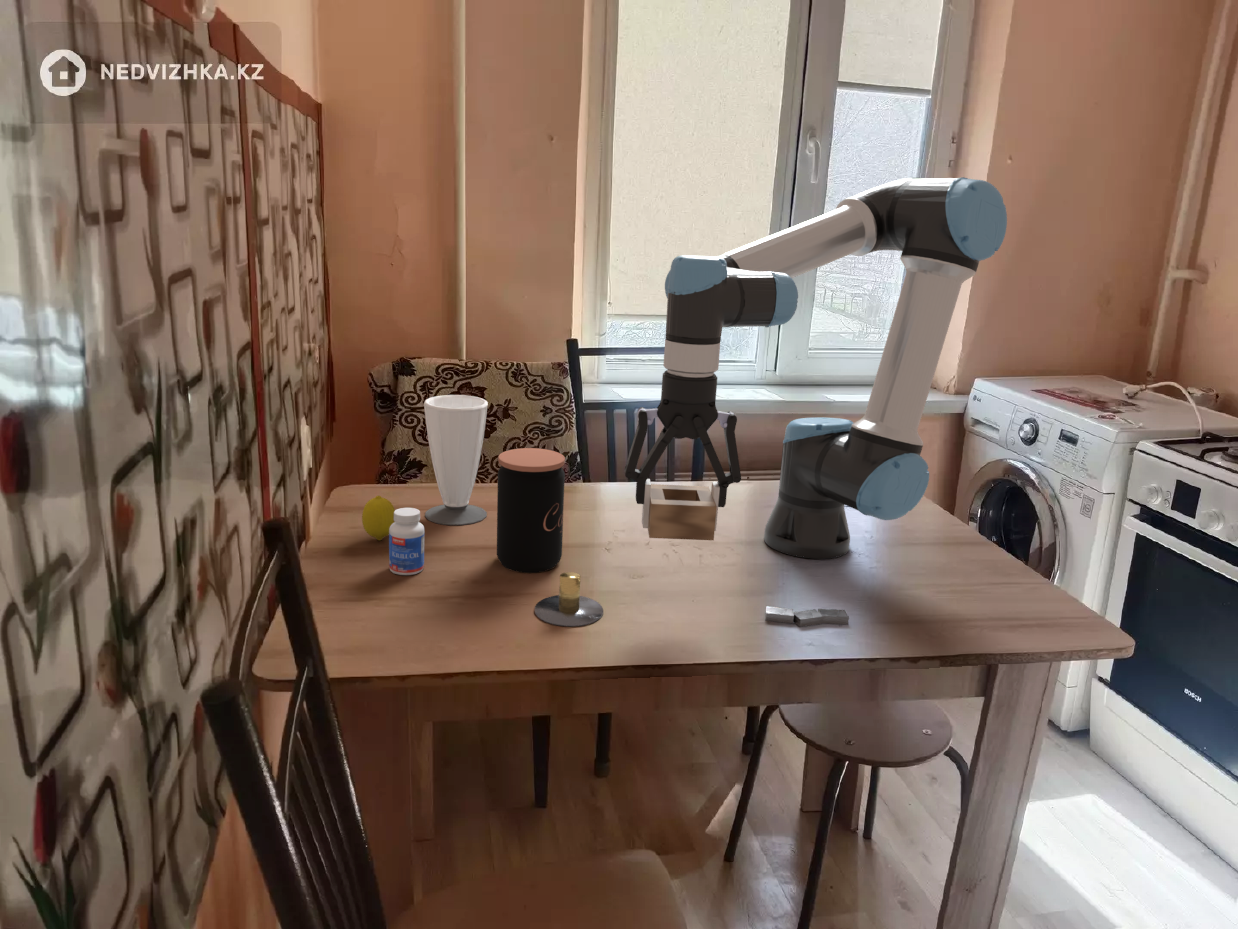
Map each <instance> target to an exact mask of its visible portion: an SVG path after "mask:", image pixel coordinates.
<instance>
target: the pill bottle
mask: <svg viewBox="0 0 1238 929" xmlns="http://www.w3.org/2000/svg"><path fill="white" fill-rule="evenodd" d="M394 510H395V511H394V521H395V523H393V524H392V525H391V526H390V528H389V535H388V549H389V550H388V554H389V555H388V556H389V559H388V561H389V562H388V566H389V567H388V568H389V571H390V572H392V573H393V574H396V575H399V576H412V575H413V576H414V575H416V574H419V573H421V572H422V571H423V570H424V568H425V526H424V525H423V524H422V523H421V522H420V520H421V511H420V510H419V509H417V508H414V507H400V508H396V509H394Z"/></svg>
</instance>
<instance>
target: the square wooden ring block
mask: <svg viewBox="0 0 1238 929" xmlns="http://www.w3.org/2000/svg"><path fill="white" fill-rule="evenodd" d="M716 509H717V506H716V504H715V501H714V499H713V497H712V494H711V488H710V487H709V486H707V485H706V486H702V485H683V484H681V485H679V484H678V485H677V484H662V483H661V484H657V483H656V484H655V483H651V492H650V507H649V522H648V528H647V532H648V533H647V534H648V538H649V539H663V540H665V539H668V540H670V539H672V540H690V541H692V540H693V541H694V540H696V541H715V540H714V539H715V532H716V531H715V520H716Z"/></svg>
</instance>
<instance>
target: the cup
mask: <svg viewBox="0 0 1238 929" xmlns="http://www.w3.org/2000/svg"><path fill="white" fill-rule="evenodd" d="M488 403H489V402H488V401H487V400H486V399H484V398H481V397H478V396H474V395H472V396H471V395H465V394H447V395H438V396H437V395H436V396H431V397H428V398H427V399H425V400H424V402H423V407H424V417H425V418H424V419H425V424H426V431H427V432H426V434H427V439H428V445H429V446H428V447H429V450H430V456H431V462H432V468H433V471H434V475H435V479H436V483H437V484H436V485H437V487H438V491H439V494H440V497H441V500H442V504H440V505H436V506H433V507H431V508H429V509H427V510H426V511H425V512H424V517H425V518H426V519H427V520H428V521H429V522H431V523H434V524H437V525H443V526H467V525H468V526H469V525H473V524H477V523H479V522H481V521H483V520H484V519H486V518H487V515H488V511H486V510H485V509H484V508H482V507H481V506H478V505H473V504H469V502H470V499H471V496H472V493H473V489H474V487H475V483H476V478H477V474H478V469H479V465H480V459H481V454H482V449H483V444H484V437H485V429H486V421H487V414H488V412H487V411H488V405H489V404H488Z"/></svg>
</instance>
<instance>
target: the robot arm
mask: <svg viewBox="0 0 1238 929" xmlns="http://www.w3.org/2000/svg"><path fill="white" fill-rule="evenodd" d="M1007 212H1008V211H1007V207H1006V205H1005V203H1004V199H1003V196H1002V194H1001V193H1000V191H999V189H997V188H996V187H995V186H994V184H992V183H991V182H989V181H986V180H982V179H973V178H968V177H965V176H964V177H955V178H953V177H947V178H941V177H940V178H937V177H936V178H935V177H934V178H933V177H931V178H927V177H905V178H901V179H897V180H892V181H890V182H887V183H883V184H881V185H879V186H876V187H872V188H870V189H867V190H864V191H863V192H862V191H861V192H859V193H858V194H855V195H852V196H849V197H847V198H845V199H843V200H841V201H839V203H838V204H837V205H836V207H835V209H834V210H832V211H829V212H827V213H824V214H822V215H819V216H817V217H814V218H811V219H809V220H806V221H803V222H800V223H799V224H796V225H793V226H790V227H788V228H785V229H782V230H781V231H778V232H775V233H773V234H770V235H768V236H765V237H763V238H760V239H758V240H756V241H753V242H750V243H747V244H744V245H742V246H740V247H738V248H735V249H732V250H730V251H727V252H725V253H722V254H719V255H716V256H709V255H697V254H696V255H693V254H691V255H690V254H683V255H677V256H676V257H674V258H673V259H672V261H671V264H670V270H669V271H668V273H667V275H666V277H665V279H664V280H665V282H664V293H665V296H666V299H667V303H666V304H667V306H666V324H665V338H664V339H665V340H664V352H663V353H664V354H663V363H662V364H663V367H664V368H665V369H666V370H664V372H663V373H662V376H661V377H662V380H661V395H660V403H659V404H658V405H657V407H656V408H645V407H642V406H641V407H639V408H638V409H637V422H638V423H637V426H636V430H635V433H634V436H633V440H632V443H631V446H630V450H629V453H628V456H627V460H626V464H625V466H624V475H625V478H626V479H628V480H629V479H632V480H633V481H635V482H636V486H635V501H636V504H637V505H642V513H641V515H642V516H641V525H642V529H648V522H649V507H650V492H651V484H652V483H651V479H650V478H649V476H650V475H651V473H652V472H653V470H654V469H655V467H656V465H657V463H658V462H659V460H660V459H661V457H662V456H663V453H664V452H665V450H666V448H667V447H668V446H669V444H670V443H671V442H672V440H673V439H678V440H679V439H686V438H687V439H689V440H698V439H700V441H701V443H702V446H703V448H704V451H705V453H706V456H707V458H708V461H709V462H710V464H711V466H712V469H713V472H714V475H715V476H716V478H717V481H711V488H710V491H711V494H712V497H713V499H714V501H715V504H716V506H717V509H716V520H715V532H716V531H717V524H718V522H717V521H718V513H719V512H718V511H719V508H724V507H725V506H726V504H727V493H728V487H729V486H730V485H731V484H735V483H736V484H739V483H740V482H741V481H742V474H741V468H740V467H741V466H740V459H739V453H738V452H739V451H738V446H737V440H736V431H735V430H736V426H737V422H738V417H737V416H736V414H735V413H734V411H731V410H729V411H727V412H725V411H720V410H718V409H717V406H716V401H717V389H718V388H717V387H718V376H717V375H716V374H715V373H716V372H718V371H719V364H720V353H721V352H720V351H721V341H722V340H721V339H722V333H723V328H731V327H733V328H734V327H735V328H736V327H737V328H739V327H740V328H742V327H765V328H770V327H773V326H774V327H775V326H782V325H784V324H787V323H788V322H789V321H790V320H791V319H792V318H793V317H794V315H795V313H796V312H797V308H798V299H799V292H798V291H799V290H798V287H797V285H796V282H795V281H794V279H793V278H797V277H798V276H801V275H804V274H806V273H808V272H810V271H813V270H815V269H817V268H820V267H823V266H825V265H828V264H830V263H832V262H835V261H837V260H840V259H843V258H844V257H847V256H849V255H852V256H855V257H864V256H866V255H869V254H870V253H872V252H878V251H898V252H901V255H900V260H901V262H902V264H903V266H904V268H905V270H906V271H905V275H904V276H905V277H904V280H903V283H902V287H901V290H900V293H899V296H898V300H897V303H896V308H895V311H894V313H893V317H892V321H891V324H890V328H889V330H888V335H887V338H886V341H885V343H884V344H885V345H884V348H883V351H882V355H881V358H880V362H879V365H878V368H877V372H876V374H875V375H876V376H875V378H874V382H873V386H872V388H871V392H870V396H869V399H868V403H867V406H866V409H865V413H864V415H863V417H862V418H860V419H858V420H856V421H854V422H853V421H852V420H851V419H845V418H839V417H823V416H821V417H804V418H803V417H802V418H801V417H800V418H796V419H793V420H791V421H789V422H788V424H787V425H786V428H785V432H784V433H785V434H784V439H783V440H782V452H781V453H782V454H781V463H780V464H781V465H780V475H779V485H778V496H777V500H776V503H775V505H774V507H773V509H772V511H771V514H770V516H769V517H768V520H767V522H766V524H765V528H764V535H763V540H764V542H765V544H766V545H767V546H769V547H770V548H771V549H773V550H775V551H777V552H780V553H782V554H786V555H789V556H793V557H797V558H802V559H803V558H805V559H814V560H815V559H816V560H819V559H820V560H824V559H825V560H826V559H834V558H838V557H842V556H844V555H846V554H847V553H848V552H849V550H850V543H851V535H850V529H849V523H848V519H847V516H846V510H845V506H847V507H849V508H852V509H853V510H856V511H858V512H859V513H861V514H862V515H865V516H869V517H873V518H876V519H878V520H881V521H892V520H893V521H894V520H897V519H900V518H902V517H903V516H906V515H907V514H908V512H911V511H912V510H913V509H914V508H915V507H916V506H918V504H919V503H920V501H921V500H922V498H923V497H924V495H925V493H926V490H927V488H928V486H929V480H930V471H929V465H928V463H927V461H926V460H925V459H924V458H923V457H922V456H921V453H922V450H923V447H924V441H923V439H922V438H921V436H920V434H919V431H918V429H919V426H920V423H921V420H922V416H923V412H924V410H925V407H926V406H925V405H926V404H927V400H928V396H929V393H930V390H931V387H932V383H933V380H934V377H935V374H936V370H937V367H938V364H939V360H940V357H941V354H942V350H943V347H944V344H945V341H946V338H947V334H948V332H949V331H948V330H949V327H950V324H951V321H952V318H953V313H954V310H955V307H956V304H957V301H958V299H959V294H960V291H961V288H962V285H963V283H964V282H966V281H967V280H969V279H971V278H973V277H975V275H976V274H977V271H978V267H979V264H980V262H981V261H985V260H988V259H989V258H991V257H993V256H994V255H995V253H996V252H998V250H999V249H1001V246H1002V245H1003V242H1004V239H1005V236H1006V233H1007V227H1008V226H1007V225H1008V214H1007ZM656 418H658V419H659V421H660V422H661V424H662V425H663V428H662V429H661V431H660V433H659V435H658V438H657V439H656V441H655V443H654V445H653V446H652V447H651V449H650V450H649V452H648V454H647V455H646V457H645V459H644V461H643V463H642V464H641V466H640V467H639V469H637V465H638V462H639V459H640V455H641V452H642V449H643V446H644V443H645V440H646V436H647V433H648V426H651V425H652V424H653V423H654V419H656ZM717 420H718V421H719V424H720V427H721V428H723V434H724V441H725V448H726V455H727V462H728V468H729V472H726V473H725V470H724V468H723V466H722V464H721V461H720V460H719V458H718V454H717V452H716V449H715V447H714V445H713V443H712V441H711V438H710V435H709V433H708V431H709V429H710V428H711V427H712V425H714V423H715V422H716V421H717Z"/></svg>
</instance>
